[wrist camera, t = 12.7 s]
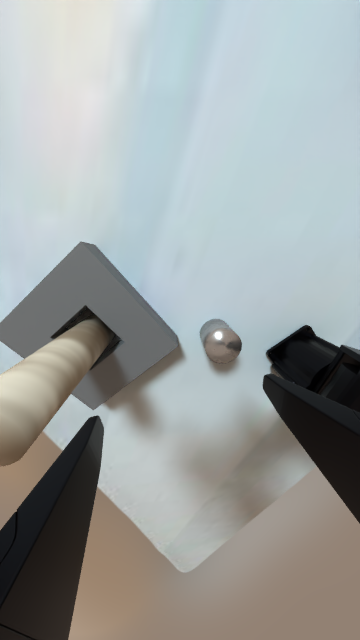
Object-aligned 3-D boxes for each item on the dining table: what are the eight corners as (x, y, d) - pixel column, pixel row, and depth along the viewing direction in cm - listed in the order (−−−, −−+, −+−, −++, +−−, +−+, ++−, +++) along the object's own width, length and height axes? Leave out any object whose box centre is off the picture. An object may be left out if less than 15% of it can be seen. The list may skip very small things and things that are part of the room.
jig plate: (94, 244, 18) (80, 241, 15) (177, 335, 22) (177, 346, 19) (15, 323, 21) (-10, 333, 18) (102, 393, 24) (93, 410, 22)
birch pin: (85, 310, 20) (-71, 397, 7) (118, 320, 21) (30, 417, 8) (80, 338, 22) (-64, 459, 8) (111, 347, 22) (23, 472, 9)
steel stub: (218, 312, 22) (228, 323, 18) (235, 334, 23) (248, 349, 19) (193, 331, 22) (198, 345, 18) (211, 352, 23) (219, 369, 19)
